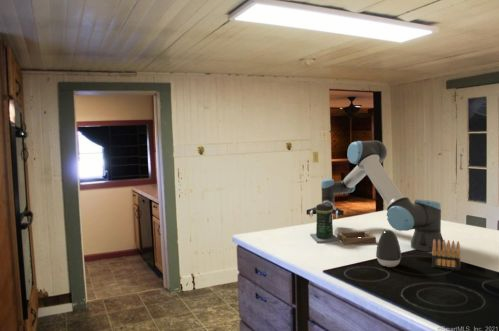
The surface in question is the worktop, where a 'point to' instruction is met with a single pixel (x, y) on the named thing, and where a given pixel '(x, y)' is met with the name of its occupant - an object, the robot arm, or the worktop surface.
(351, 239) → the walnut collar
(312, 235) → the slate mat
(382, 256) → the grey egg shaped container
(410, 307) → the worktop surface
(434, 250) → the ammunition clip
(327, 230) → the coffee jar
